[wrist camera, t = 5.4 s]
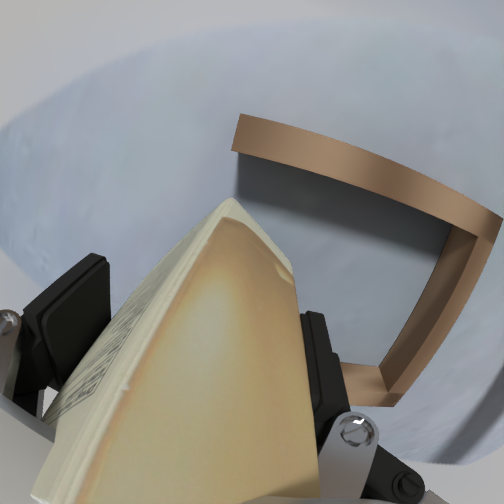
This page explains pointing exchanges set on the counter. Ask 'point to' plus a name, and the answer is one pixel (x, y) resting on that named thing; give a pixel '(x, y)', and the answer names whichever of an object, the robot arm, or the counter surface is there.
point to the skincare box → (192, 383)
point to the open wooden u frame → (410, 193)
